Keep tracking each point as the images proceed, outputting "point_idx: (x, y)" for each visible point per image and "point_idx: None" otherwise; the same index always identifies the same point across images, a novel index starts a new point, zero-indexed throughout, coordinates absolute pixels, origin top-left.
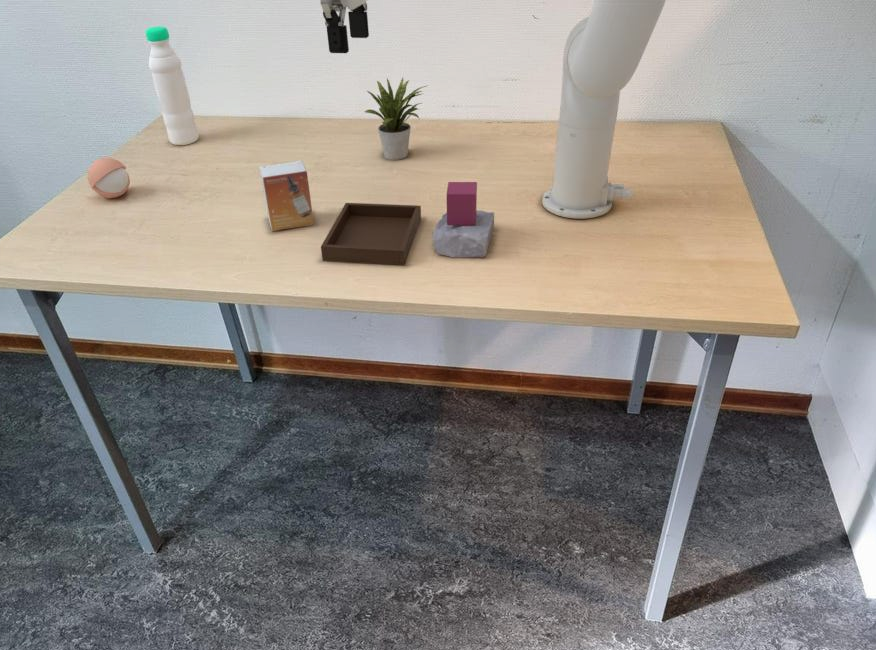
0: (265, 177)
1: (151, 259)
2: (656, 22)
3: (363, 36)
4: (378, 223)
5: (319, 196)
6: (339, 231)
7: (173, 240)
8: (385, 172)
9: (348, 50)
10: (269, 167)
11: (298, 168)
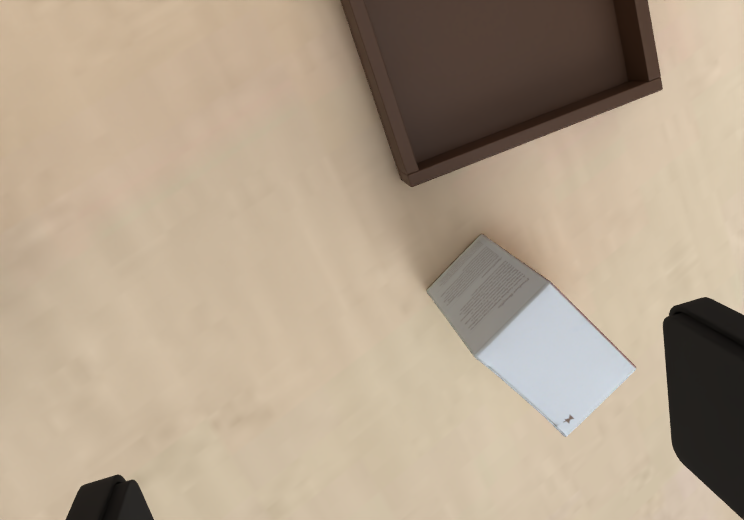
0: (631, 363)
1: None
2: None
3: (143, 510)
4: (419, 54)
5: (325, 331)
6: (522, 124)
7: (653, 464)
8: (66, 256)
9: (691, 302)
10: (566, 403)
11: (544, 317)
